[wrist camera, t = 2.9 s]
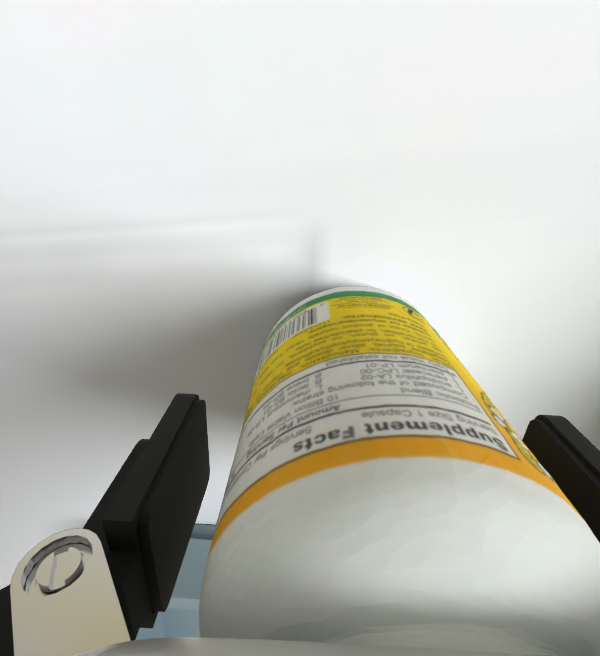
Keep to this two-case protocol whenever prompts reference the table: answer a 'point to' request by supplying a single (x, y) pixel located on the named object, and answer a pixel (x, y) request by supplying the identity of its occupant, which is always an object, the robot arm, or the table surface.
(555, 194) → the table surface
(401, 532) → the supplement bottle
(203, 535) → the tray
